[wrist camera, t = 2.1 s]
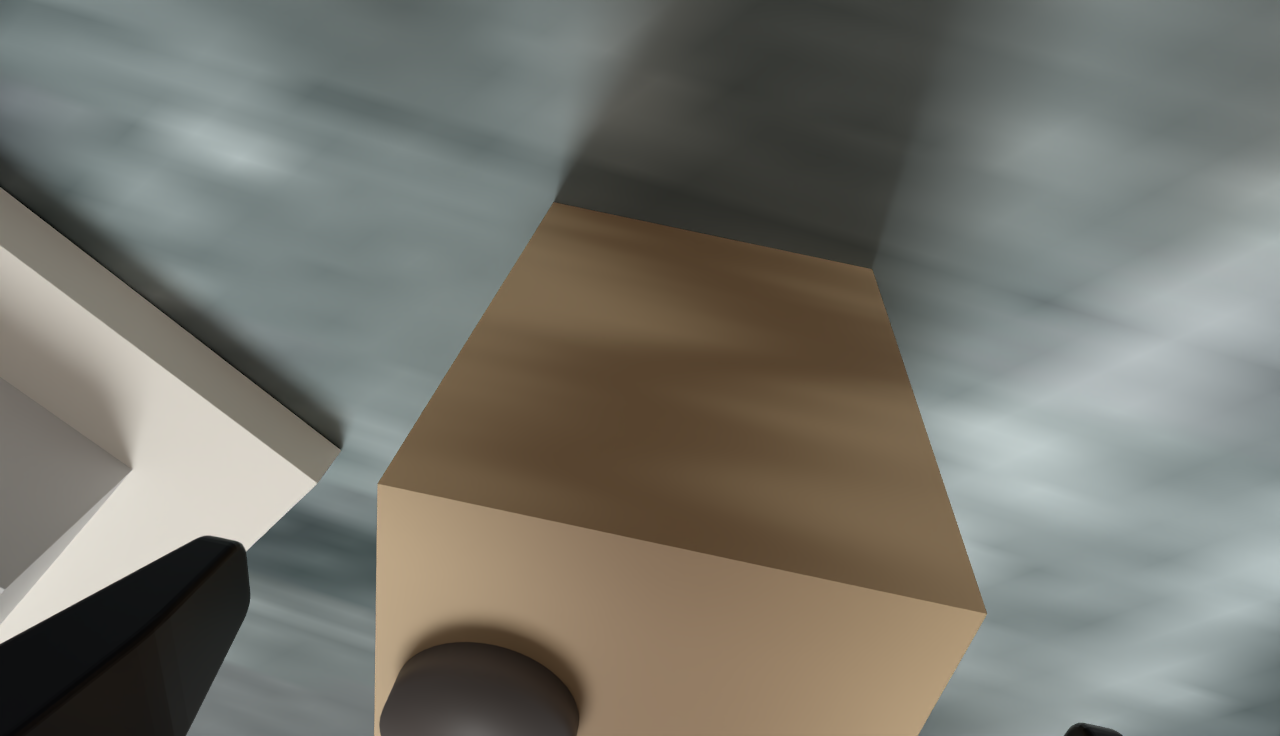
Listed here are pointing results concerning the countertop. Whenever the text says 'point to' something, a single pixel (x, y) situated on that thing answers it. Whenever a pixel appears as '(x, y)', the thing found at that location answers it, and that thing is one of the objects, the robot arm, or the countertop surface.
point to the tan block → (669, 505)
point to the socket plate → (120, 431)
